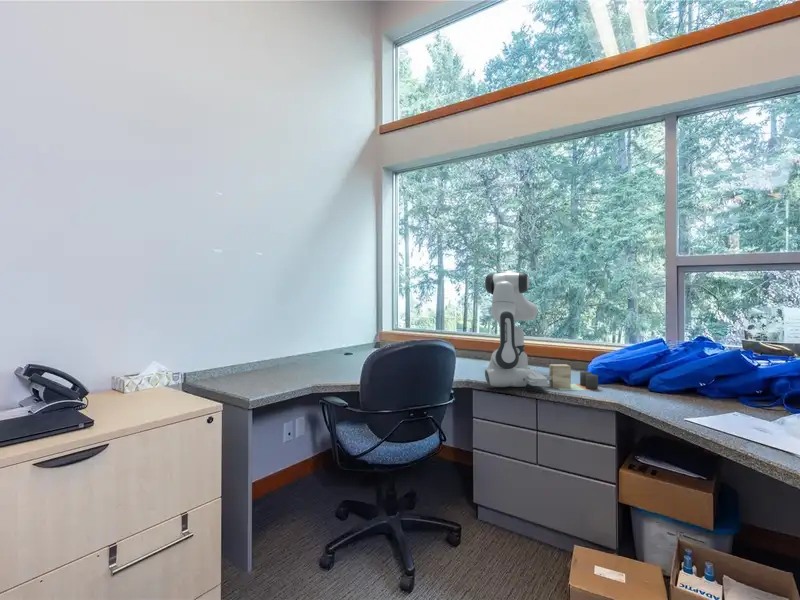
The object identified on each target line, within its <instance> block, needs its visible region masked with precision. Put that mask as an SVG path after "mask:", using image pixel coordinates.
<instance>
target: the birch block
mask: <svg viewBox="0 0 800 600" xmlns="http://www.w3.org/2000/svg"><path fill="white" fill-rule="evenodd" d="M548 368H549V371H548V375H550V376H552V380H548V384H549V386H551V387H552V388H571V384H572V383H571V381H572V366H571V365H569V364H566V363H565V364H561V363H559V364H556V363H554V364H552V363H551V364H549V366H548Z"/></svg>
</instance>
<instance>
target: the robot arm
mask: <svg viewBox="0 0 800 600" xmlns="http://www.w3.org/2000/svg"><path fill="white" fill-rule="evenodd" d="M529 287H530V278H529V275H528V274H527V273H525V272H521V271H520V272H516V271H514V270H513V269H512V270H511V269H507V270H504V271H503V272H497V273H489V274H487V275H486V276H485V280H484V289H485V291H486V292H487V293H488V294H490V295H492V300H491V310H490V313H491V315H492V317H493V319H494V320H495V321H496V322H497V323H498V326H499V346H498V348H497V349H495V350H494V351H493V352H492V354H491V356H490V360H489V363H488V366H487V367H486V369H485V371H484V376H485V380H486V382H487V384H488V385H489V386H491V387H495V388H497V387H498V388H506V387H513V388H525V387H526V386H527V385H529V386H531V387H540V386H547V384H549V380H552V376H550V375H549V374H544V373H540V372H538V371H537V370H536V369H533V368H531V367H530V366H528V365H529V364H528V362H529V361H528V355H527V353H526V352H525V350H526V348H525V333H524V331H523V329H522V328H520V327H519V326H517V325H515V321H519V322H524V321H525V322H528V321H533V320H535V319H536V318H537V316H538V312H539V311H538V310H539V309H538V307H537V305H536V303H535V302H532V301H530V300H528V299H527V298H526V297H525V296H524V293H527V292H528V291H529Z"/></svg>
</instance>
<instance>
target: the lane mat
mask: <svg viewBox="0 0 800 600" xmlns="http://www.w3.org/2000/svg"><path fill="white" fill-rule="evenodd" d="M539 387H540V388H541V389H543V391H590V390H589V389H586V387H585V386H581V385H580V383H571V388H552V387H551V386H549V383H548V384H547V386H539ZM597 391H601V388H598V390H597Z"/></svg>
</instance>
